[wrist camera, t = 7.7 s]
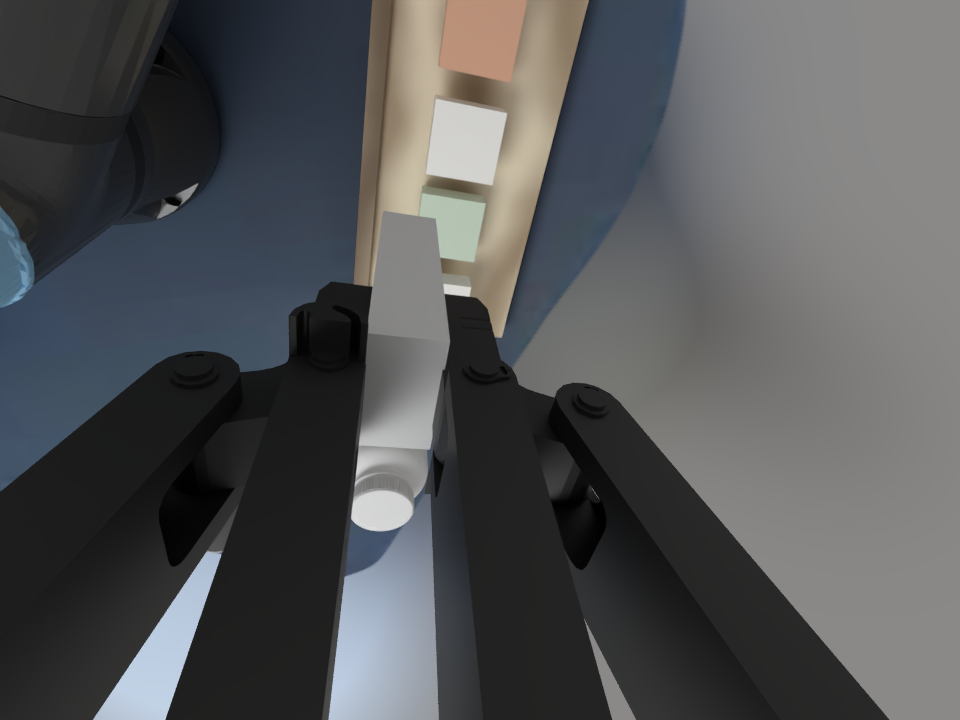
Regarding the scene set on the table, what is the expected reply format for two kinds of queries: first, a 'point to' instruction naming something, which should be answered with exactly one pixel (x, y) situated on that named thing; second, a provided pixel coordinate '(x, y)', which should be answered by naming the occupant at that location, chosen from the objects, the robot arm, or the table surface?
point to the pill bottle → (387, 486)
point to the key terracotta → (481, 37)
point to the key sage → (454, 220)
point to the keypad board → (407, 120)
